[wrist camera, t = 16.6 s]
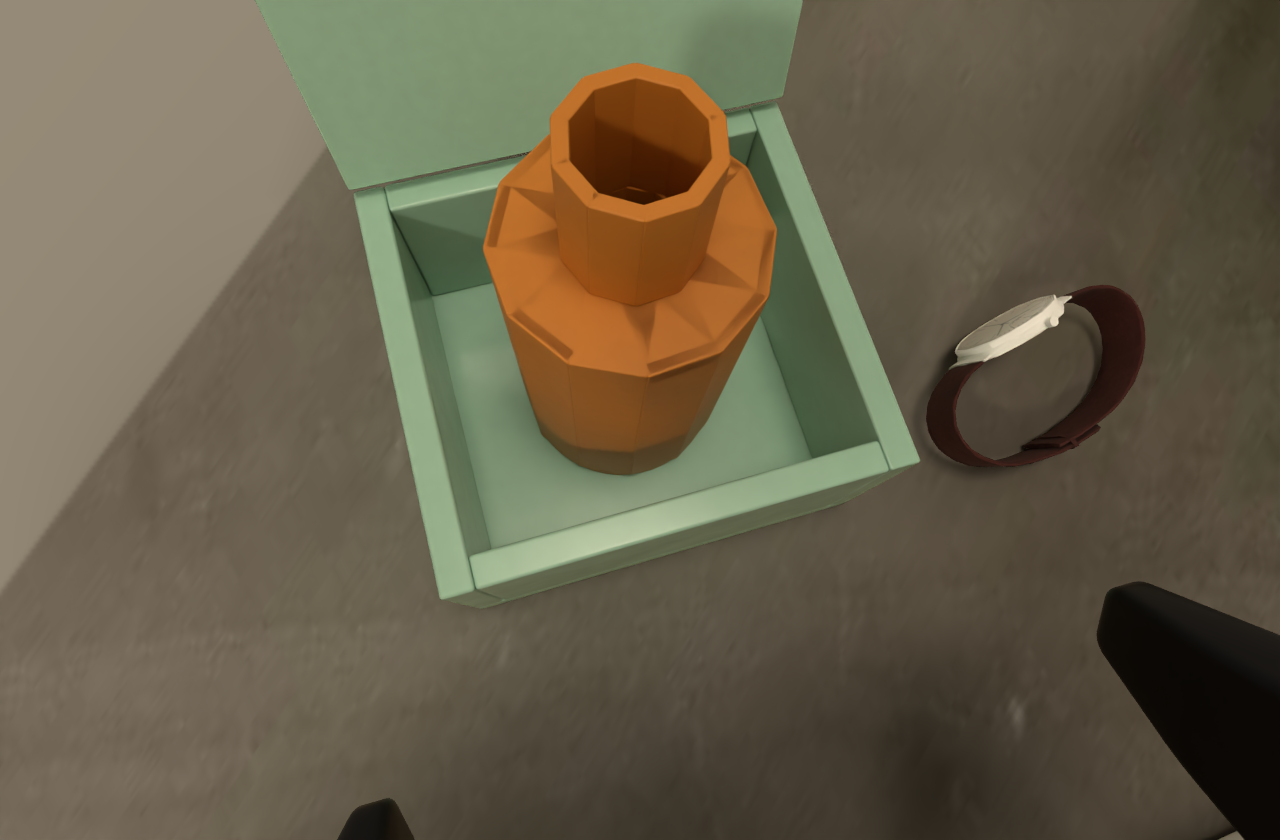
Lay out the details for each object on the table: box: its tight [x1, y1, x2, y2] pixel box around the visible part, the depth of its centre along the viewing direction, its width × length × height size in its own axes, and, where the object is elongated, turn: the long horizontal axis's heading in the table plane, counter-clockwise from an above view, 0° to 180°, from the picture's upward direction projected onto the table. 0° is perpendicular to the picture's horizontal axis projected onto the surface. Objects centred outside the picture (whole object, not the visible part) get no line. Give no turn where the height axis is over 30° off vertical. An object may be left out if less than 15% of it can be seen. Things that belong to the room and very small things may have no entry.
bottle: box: [483, 63, 777, 475], centre depth 17 cm, size 6×6×12 cm
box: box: [354, 101, 920, 609], centre depth 21 cm, size 11×12×6 cm
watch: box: [926, 285, 1145, 467], centre depth 23 cm, size 8×5×4 cm, turn 126°
